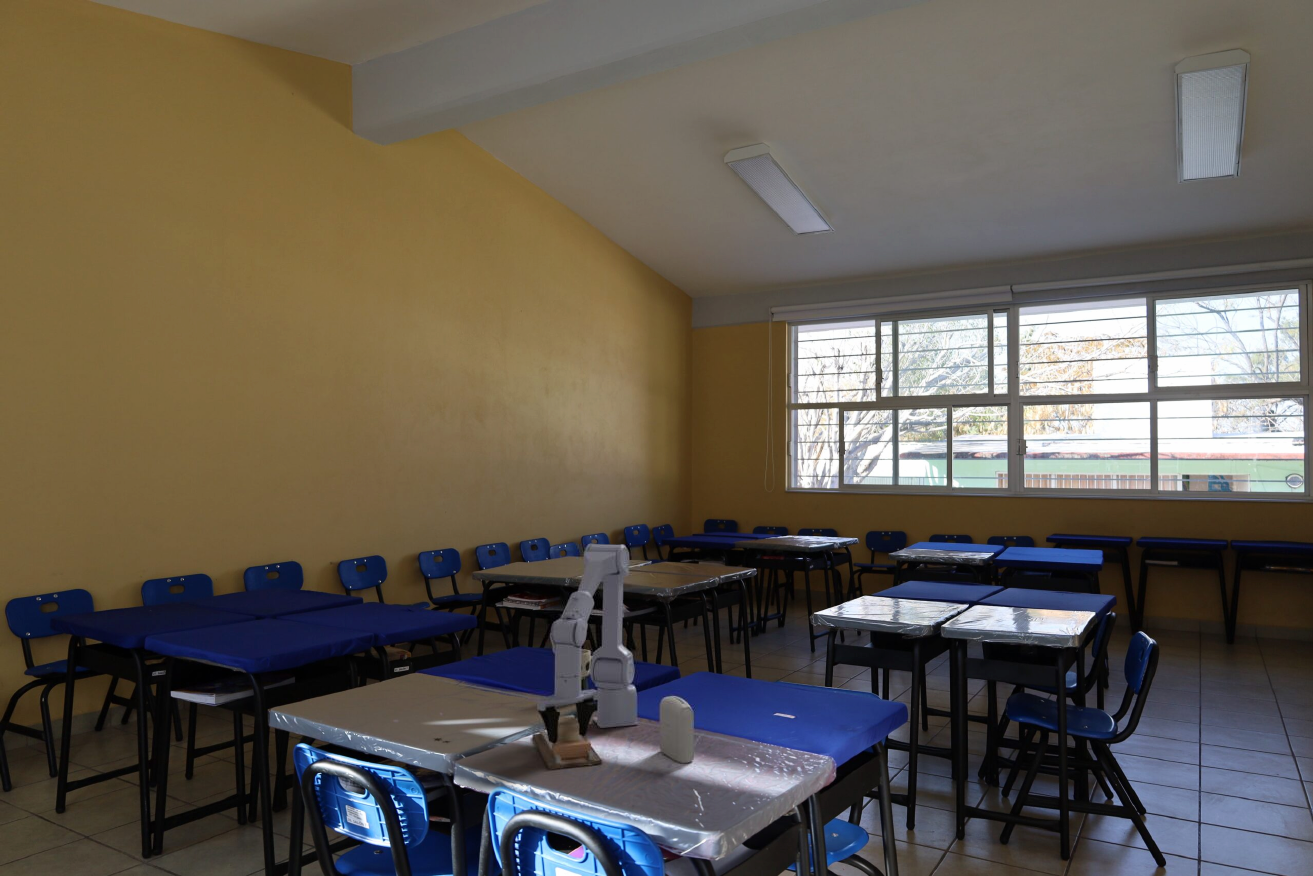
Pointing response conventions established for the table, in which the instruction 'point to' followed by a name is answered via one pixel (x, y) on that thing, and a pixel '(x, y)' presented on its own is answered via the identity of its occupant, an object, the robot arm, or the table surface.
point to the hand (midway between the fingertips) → (567, 738)
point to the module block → (567, 729)
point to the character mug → (585, 667)
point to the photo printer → (677, 729)
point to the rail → (556, 755)
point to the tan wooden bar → (571, 749)
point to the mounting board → (564, 761)
